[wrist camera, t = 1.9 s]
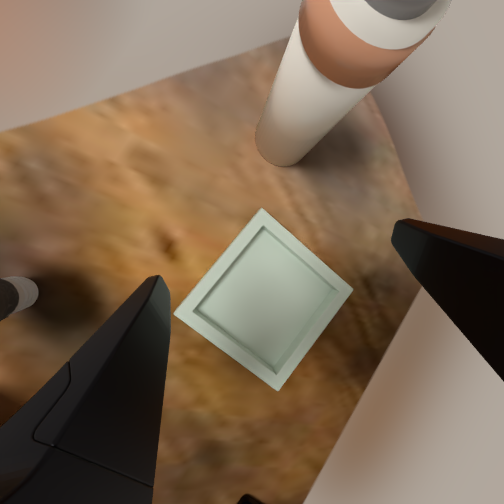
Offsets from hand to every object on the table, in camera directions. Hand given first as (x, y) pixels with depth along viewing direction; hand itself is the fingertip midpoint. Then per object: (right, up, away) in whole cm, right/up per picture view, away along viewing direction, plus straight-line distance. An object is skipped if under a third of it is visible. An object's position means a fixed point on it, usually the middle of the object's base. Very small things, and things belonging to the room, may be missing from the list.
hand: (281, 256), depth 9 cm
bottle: (+2, +10, +12) cm, 16 cm away
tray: (0, -4, +12) cm, 13 cm away
